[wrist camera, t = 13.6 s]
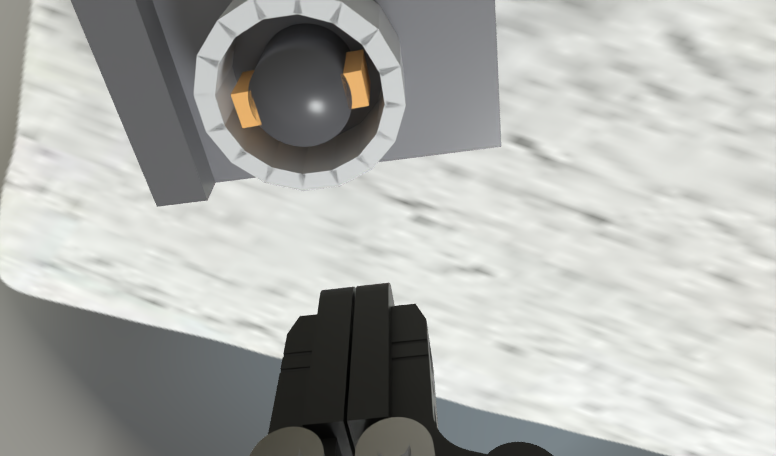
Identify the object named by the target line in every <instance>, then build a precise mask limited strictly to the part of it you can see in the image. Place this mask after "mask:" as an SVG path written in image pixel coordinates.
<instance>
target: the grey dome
mask: <svg viewBox="0 0 776 456" xmlns="http://www.w3.org/2000/svg"><path fill="white" fill-rule="evenodd" d="M370 83H371V82H370V78H369V73H368V69H367V64H366V59H365V55H364V50H363V49H362V50H357V51H350V49H349V47H348V46H347V44H346V43H345V42H344V41H343V40H342V39H341V38H340V37H339V36H338V35H337V34H336V33H334V32H333V31H331V30H329V29H328V28H325V27H323V26H320V25H316V24H310V23H301V24H295V25H291V26H289V27H286V28H284V29H282V30H281V31H279V32H278V33H277V34H275V35H274V36H273V38H272V39H271V40H270V41H269V43H268V44H267V46H266V48H265V50H264V52H263V54H262V56H261V58H260V60H259V62H258V64H257V66H256V68H255V70H251V71H246V72H242V74H241V76H240V78H239V80H238V82H237V84H236V86H235V87H234V89H233V91H232V93H231V97H232V100H233V103H234V106H235V108H236V111H237V114H238V117H239V120H240V123H241V125H242V128H247V127H253V126H259V125H260V127H261V128H262V129H263V130H264V131H265V132H266V133H268V134H269V135H270V136H272V137H273V138H275V139H276V140H278V141H280V142H283V143H285V144H288V145H293V146H299V147H309V146H315V145H320V144H322V143H325V142H327V141H329V140H331V139H332V138H334V137H335V136H336V135H337V134H338V133H340V132H341V130H342V129H343V128H344V127H345V125H346V123H347V121H348V119H349V117H350V113H351V109H354V108H359V107H365V106H369V99H370Z"/></svg>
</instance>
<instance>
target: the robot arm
mask: <svg viewBox="0 0 776 456" xmlns="http://www.w3.org/2000/svg"><path fill="white" fill-rule="evenodd" d="M250 456H553V455H552V454H550V453H549V452H548V451H546V450H545V449H543V448H541V447H539V446H537V445H534V444H531V443H525V442H511V443H506V444H503V445H500V446H498V447H496V448H495V449H493V450H492V451H490V452H489V453H488V454H483V453H478V452H474V451H469V450H466V449H462V448H460V447H458V446H456V445H454V444H452V443H450V442H449V441H448V440H447V439H446V438H444V437H443V435H442V434H441V433H440V432H439V430H438V420H437V409H436V395H435V382H434V370H433V362H432V355H431V348H430V342H429V335H428V328H427V321H426V318H425V317H424V315H423V314H422V313H421V311H420V310H419V308H418V307H417V305H416V304H409V305H399V306H394V300H393V295H392V290H391V285H390V283H382V284H373V285H364V286H357V287H356V288H355V287H347V288H338V289H329V290H322V291H321V293H320V299H319V306H318V313H317V314H316V315H307V316H300V317H299V318H298V320H297V321H296V322H295V324H294V325H293V327H292V328H291V330H290V331H289V332H288V334H287V338H286V343H285V348H284V357H283V359H282V365H281V373H280V375H279V380H278V385H277V391H276V396H275V401H274V407H273V412H272V417H271V422H270V428H269V432H268V435H267V436H265V437H264V438H263V439H262V440H260V441H259V442H258V443H257V445H256V446H255V447H254V449H253V450H252V452H251V453H250Z"/></svg>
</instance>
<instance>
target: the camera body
mask: <svg viewBox="0 0 776 456" xmlns="http://www.w3.org/2000/svg"><path fill="white" fill-rule="evenodd" d="M71 2H72V4H73V7H74V9H75V11H76V14H77V16H78V19H79V21H80V23H81V26H82V28H83V31H84V33H85V35H86V38H87V40H88V43H89V45H90V47H91V50H92V52H93V55H94V57H95V59H96V62H97V64H98V66H99V69H100V71H101V74H102V76H103V78H104V81H105V83H106V86H107V88H108V90H109V93H110V95H111V98H112V100H113V102H114V105H115V107H116V110H117V112H118V114H119V117H120V119H121V122H122V124H123V126H124V129H125V131H126V133H127V136H128V138H129V141H130V143H131V145H132V148H133V150H134V153H135V155H136V157H137V160H138V162H139V165H140V167H141V169H142V172H143V174H144V177H145V179H146V181H147V184H148V186H149V188H150V191H151V193H152V196H153V198H154V200H155V203H156V205H157V207H158V206H166V205H174V204H182V203H190V202H198V201H206V200H208V198H209V196H210V194H211V191H212V189H213V187H214V185H215V183H216V182H224V181H232V180H240V179H248V178H258V179H260V180H261V181H263V182H265V183H268V184H273V185H278V186H282V187H287V188H292V189H296V190H301V191H306V190H314V189H322V188H330V187H338V186H341V185H343V184H345V183H347V182H349V181H351V180H353V179H355V178H357V177H358V176H360V175H362V174H364V173H366V172H368V171H370V170H372V169H373V168H374V166H375V165H376V164H377V163H378V162H383V161H391V160H399V159H407V158H415V157H423V156H431V155H439V154H447V153H455V152H462V151H470V150H478V149H486V148H494V147H501V129H500V106H499V83H498V61H497V38H496V16H495V0H71ZM301 23H310V24H316V25H320V26H323V27H325V28H328V29H329V30H331V31H333V32H334V33H336V34H337V35H338V36H339V37H340V38H341V39H342V40H343V41H344V42H345V43H346V44H347V46H348V47H349V49H350V51H357V50H362V49H363V50H364V55H365V59H366V64H367V69H368V73H369V78H370V82H371V83H370V99H369V106H365V107H359V108H354V109H351V113H350V117H349V119H348V121H347V123H346V125H345V127H344V128H343V129H342V130H341V132H340V133H338V134H337V135H336V136H335V137H334V138H332V139H331V140H329V141H327V142H325V143H322V144H320V145H315V146H309V147H299V146H293V145H288V144H285V143H283V142H280V141H278V140H276V139H275V138H273V137H272V136H270V135H269V134H268V133H266V132H265V131H264V130H263V129H262V128H261V127H260V125H259V126H253V127H247V128H242V125H241V123H240V120H239V117H238V114H237V111H236V108H235V106H234V103H233V100H232V97H231V93H232V91H233V89H234V87H235V86H236V84H237V82H238V80H239V78H240V76H241V74H242V72H246V71H251V70H255V68H256V66H257V64H258V62H259V60H260V58H261V56H262V54H263V52H264V50H265V48H266V46H267V44H268V43H269V41H270V40H271V39H272V38H273V36H274V35H275V34H277V33H278V32H279V31H281V30H282V29H284V28H286V27H289V26H291V25H295V24H301Z"/></svg>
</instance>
